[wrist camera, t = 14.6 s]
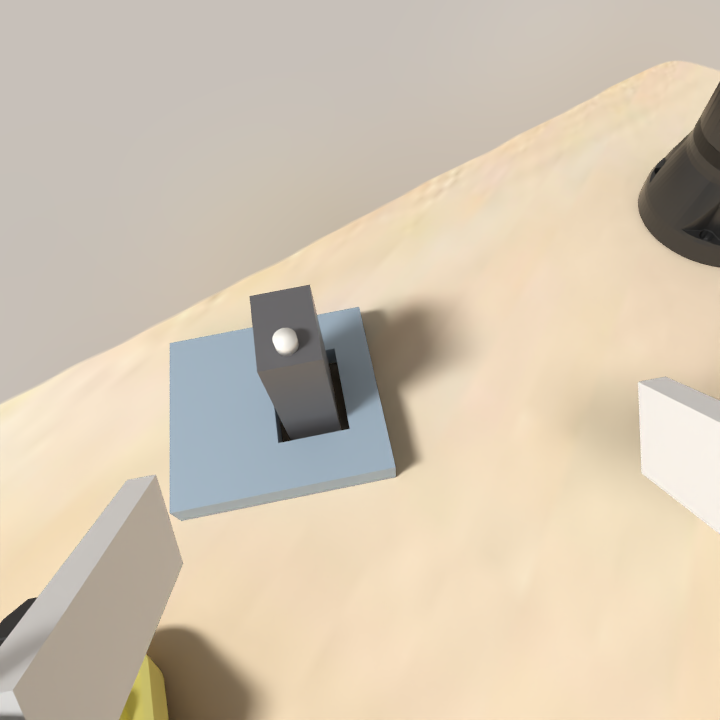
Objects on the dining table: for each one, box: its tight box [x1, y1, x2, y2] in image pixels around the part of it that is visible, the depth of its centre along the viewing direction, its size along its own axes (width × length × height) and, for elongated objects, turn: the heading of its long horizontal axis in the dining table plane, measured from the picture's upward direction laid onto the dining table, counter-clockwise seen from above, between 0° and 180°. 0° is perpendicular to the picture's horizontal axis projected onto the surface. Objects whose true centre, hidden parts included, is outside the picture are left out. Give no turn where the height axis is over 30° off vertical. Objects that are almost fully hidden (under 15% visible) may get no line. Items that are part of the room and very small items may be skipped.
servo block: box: [250, 285, 341, 440], centre depth 41 cm, size 4×6×14 cm
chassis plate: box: [170, 307, 396, 521], centre depth 46 cm, size 18×16×2 cm
